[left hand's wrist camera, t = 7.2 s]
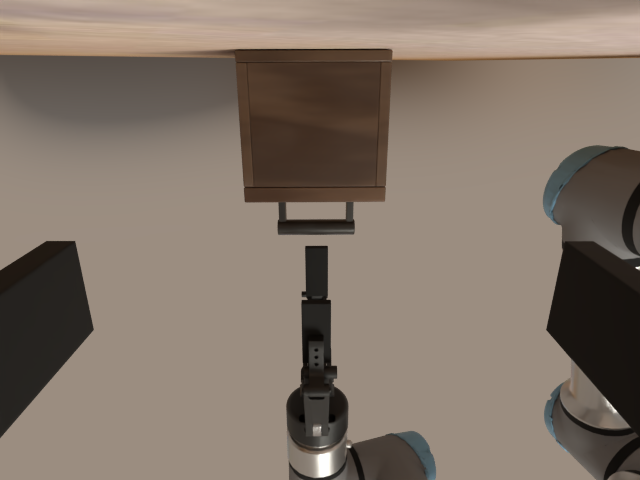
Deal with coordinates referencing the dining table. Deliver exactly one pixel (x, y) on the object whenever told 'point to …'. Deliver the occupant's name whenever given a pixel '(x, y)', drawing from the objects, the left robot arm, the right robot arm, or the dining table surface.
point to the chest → (314, 117)
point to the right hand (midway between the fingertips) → (316, 270)
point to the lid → (315, 195)
